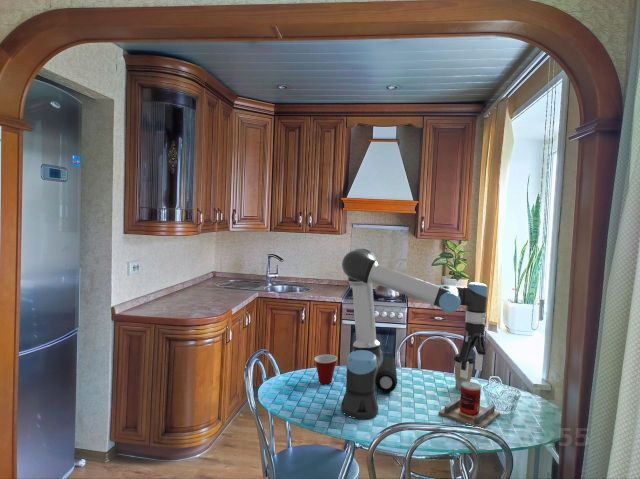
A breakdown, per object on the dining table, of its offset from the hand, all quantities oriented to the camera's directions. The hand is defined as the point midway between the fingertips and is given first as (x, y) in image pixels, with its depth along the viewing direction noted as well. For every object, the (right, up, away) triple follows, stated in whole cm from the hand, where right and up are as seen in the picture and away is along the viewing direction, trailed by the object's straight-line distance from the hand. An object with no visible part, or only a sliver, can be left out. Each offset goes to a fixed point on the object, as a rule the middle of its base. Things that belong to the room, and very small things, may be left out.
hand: (471, 373), depth 190 cm
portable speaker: (-30, -14, +32) cm, 46 cm away
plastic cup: (-59, -13, +30) cm, 67 cm away
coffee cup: (+6, -15, +30) cm, 35 cm away
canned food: (0, -16, +1) cm, 16 cm away
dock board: (0, -17, +1) cm, 17 cm away
